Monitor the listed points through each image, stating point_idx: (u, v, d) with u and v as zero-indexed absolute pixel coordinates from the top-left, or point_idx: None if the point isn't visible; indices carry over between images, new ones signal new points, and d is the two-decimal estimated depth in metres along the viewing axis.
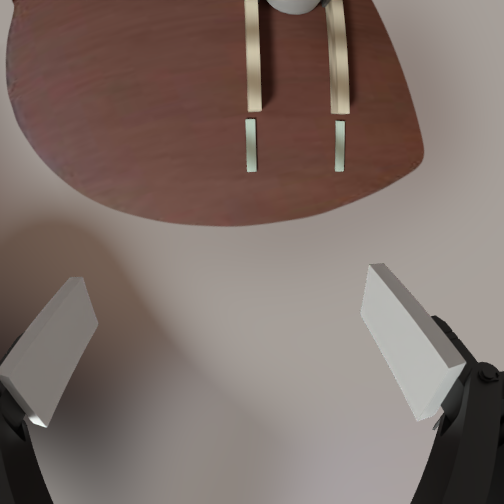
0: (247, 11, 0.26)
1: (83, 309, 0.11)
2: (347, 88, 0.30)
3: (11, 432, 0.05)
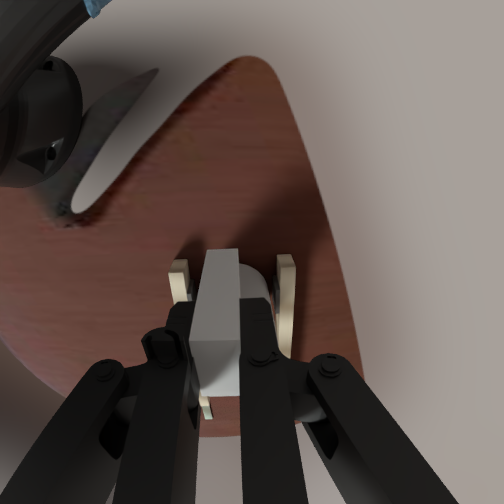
0: None
1: None
2: None
3: (188, 422, 0.07)
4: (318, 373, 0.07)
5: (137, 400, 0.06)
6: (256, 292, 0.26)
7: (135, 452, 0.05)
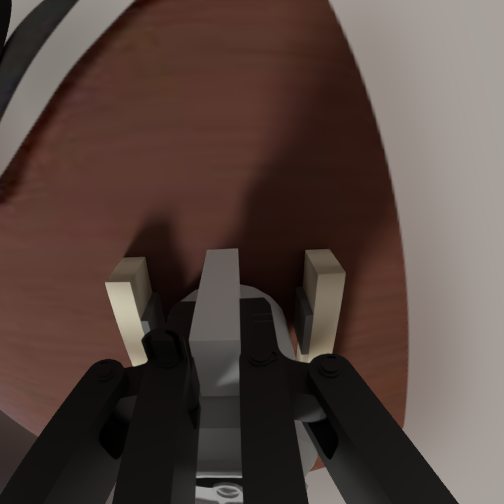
0: None
1: None
2: None
3: (188, 422, 0.07)
4: (318, 373, 0.07)
5: (137, 400, 0.06)
6: None
7: (135, 452, 0.05)
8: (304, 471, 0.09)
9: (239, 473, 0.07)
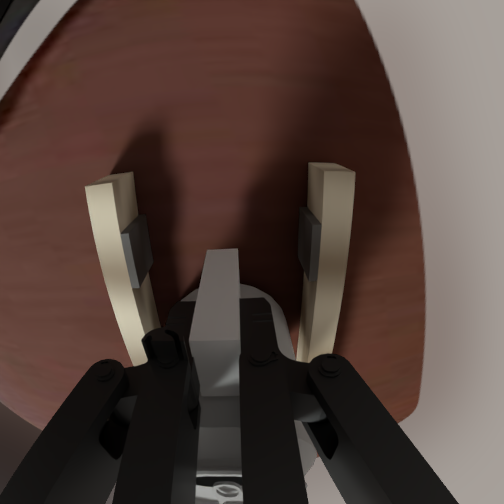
0: (123, 331, 0.15)
1: None
2: None
3: (188, 422, 0.07)
4: (318, 373, 0.07)
5: (137, 400, 0.06)
6: None
7: (135, 452, 0.05)
8: (304, 470, 0.09)
9: (239, 472, 0.07)
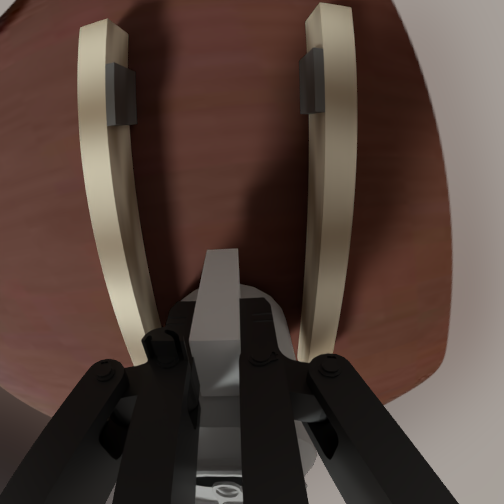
0: (89, 192, 0.12)
1: None
2: (330, 350, 0.17)
3: (189, 422, 0.07)
4: (318, 373, 0.07)
5: (137, 400, 0.06)
6: None
7: (135, 452, 0.05)
8: (304, 471, 0.09)
9: (239, 472, 0.07)
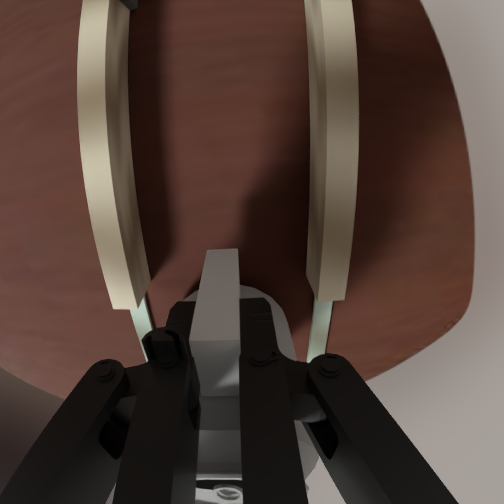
0: (81, 48, 0.09)
1: None
2: (348, 241, 0.14)
3: (188, 422, 0.07)
4: (318, 373, 0.07)
5: (137, 400, 0.06)
6: None
7: (135, 452, 0.05)
8: (305, 473, 0.09)
9: (240, 475, 0.07)
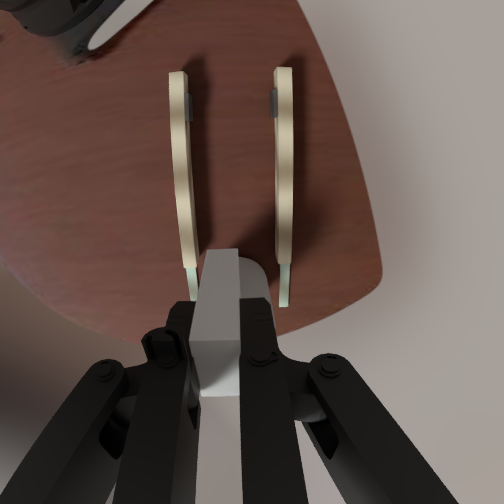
0: (173, 149, 0.28)
1: None
2: (290, 236, 0.33)
3: (188, 422, 0.07)
4: (318, 373, 0.07)
5: (137, 400, 0.06)
6: (257, 280, 0.32)
7: (135, 452, 0.05)
8: None
9: None
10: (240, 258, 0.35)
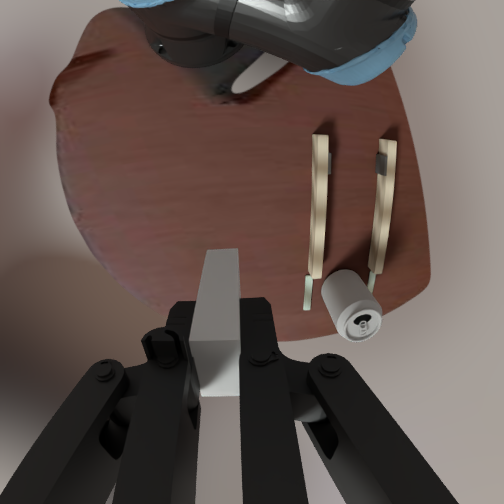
0: (318, 194, 0.40)
1: None
2: (383, 255, 0.45)
3: (188, 422, 0.07)
4: (318, 373, 0.07)
5: (137, 400, 0.06)
6: (365, 286, 0.44)
7: (135, 452, 0.05)
8: None
9: (370, 309, 0.38)
10: (347, 270, 0.47)
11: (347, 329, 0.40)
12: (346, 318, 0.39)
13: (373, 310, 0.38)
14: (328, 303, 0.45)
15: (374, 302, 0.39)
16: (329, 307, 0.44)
